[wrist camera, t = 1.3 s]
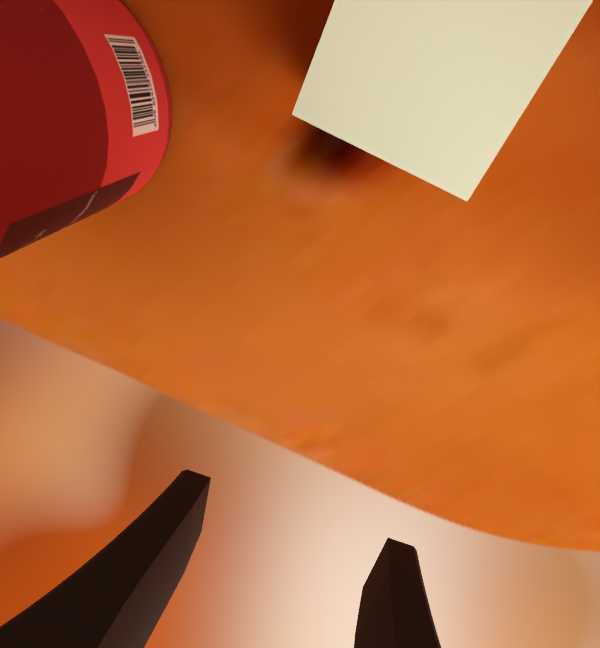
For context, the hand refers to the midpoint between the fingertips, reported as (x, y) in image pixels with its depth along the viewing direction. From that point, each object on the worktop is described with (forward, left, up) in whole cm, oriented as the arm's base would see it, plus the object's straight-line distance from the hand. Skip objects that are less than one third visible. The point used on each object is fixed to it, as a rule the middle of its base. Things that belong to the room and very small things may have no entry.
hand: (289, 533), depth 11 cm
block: (+2, -10, -10) cm, 15 cm away
